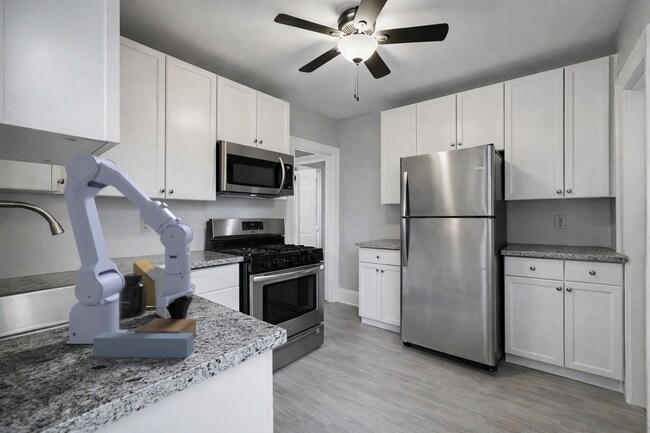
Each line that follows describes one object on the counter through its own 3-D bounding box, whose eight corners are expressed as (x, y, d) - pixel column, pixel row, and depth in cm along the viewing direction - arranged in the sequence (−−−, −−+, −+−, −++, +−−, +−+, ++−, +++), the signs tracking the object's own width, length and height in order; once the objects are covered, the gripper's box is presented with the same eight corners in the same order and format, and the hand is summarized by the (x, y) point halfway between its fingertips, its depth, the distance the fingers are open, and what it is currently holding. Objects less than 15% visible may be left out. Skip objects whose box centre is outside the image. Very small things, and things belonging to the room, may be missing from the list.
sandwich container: (182, 306, 101) (182, 260, 101) (133, 308, 100) (132, 262, 100) (191, 299, 110) (190, 257, 110) (145, 301, 108) (145, 258, 108)
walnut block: (134, 351, 68) (134, 330, 68) (155, 337, 76) (155, 318, 76) (179, 351, 68) (179, 331, 68) (195, 337, 76) (195, 318, 76)
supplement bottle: (117, 319, 89) (117, 277, 89) (122, 312, 95) (121, 273, 95) (145, 316, 92) (144, 275, 92) (147, 309, 98) (147, 271, 98)
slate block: (93, 356, 65) (93, 337, 65) (104, 350, 68) (104, 332, 68) (187, 357, 65) (187, 338, 65) (193, 351, 68) (193, 333, 68)
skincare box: (184, 315, 92) (184, 265, 92) (162, 320, 88) (162, 267, 88) (174, 309, 98) (174, 262, 98) (153, 313, 94) (153, 264, 94)
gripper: (179, 278, 69) (179, 339, 69) (206, 267, 84) (206, 317, 84) (148, 278, 70) (148, 339, 70) (180, 267, 84) (180, 317, 84)
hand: (178, 327), depth 77 cm, fingers closed
